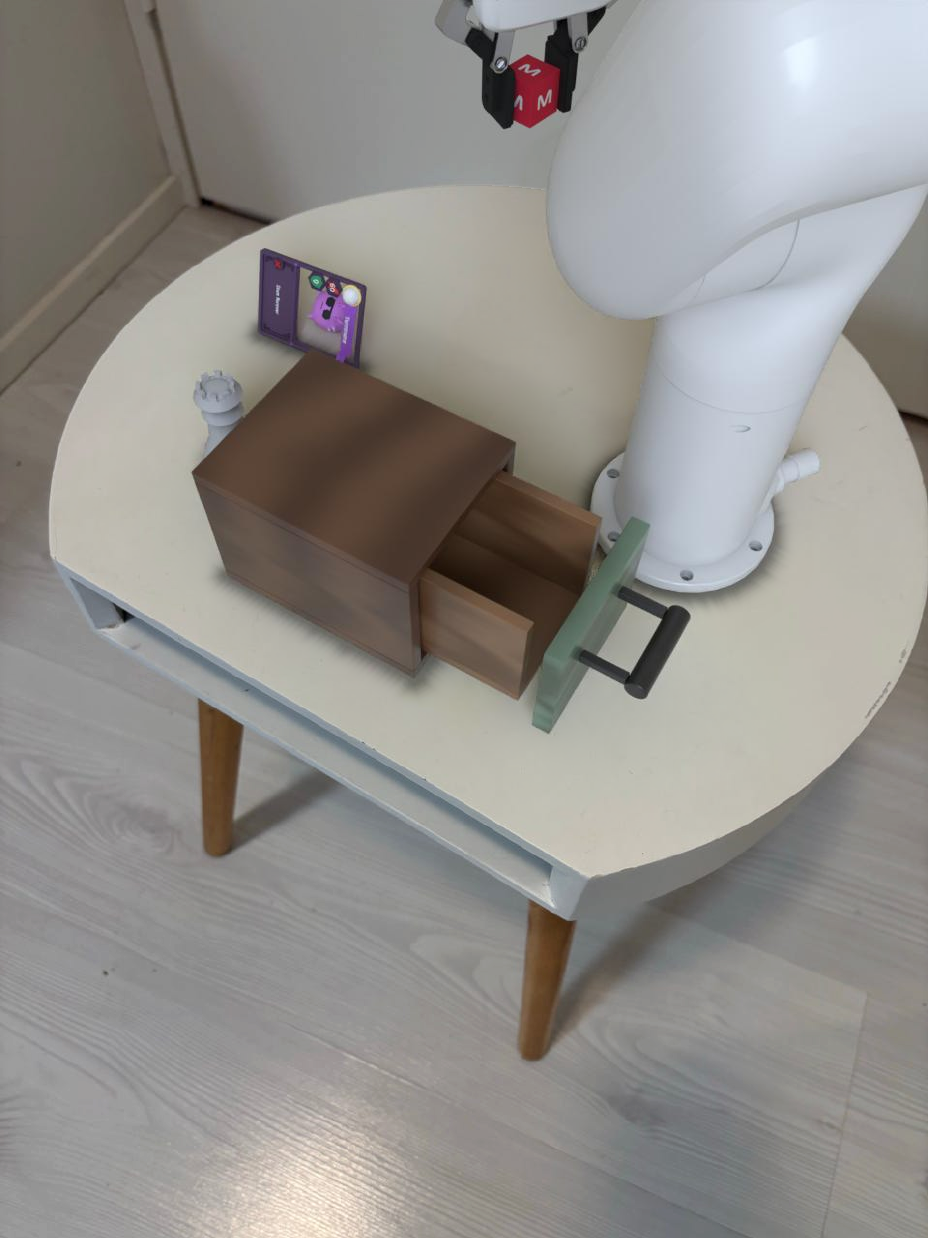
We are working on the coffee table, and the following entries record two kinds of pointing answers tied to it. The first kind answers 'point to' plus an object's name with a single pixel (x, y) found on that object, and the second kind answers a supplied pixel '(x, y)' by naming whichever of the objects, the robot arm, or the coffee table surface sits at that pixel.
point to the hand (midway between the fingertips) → (528, 108)
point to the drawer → (538, 598)
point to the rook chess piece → (218, 405)
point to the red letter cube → (534, 90)
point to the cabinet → (346, 500)
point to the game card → (328, 307)
